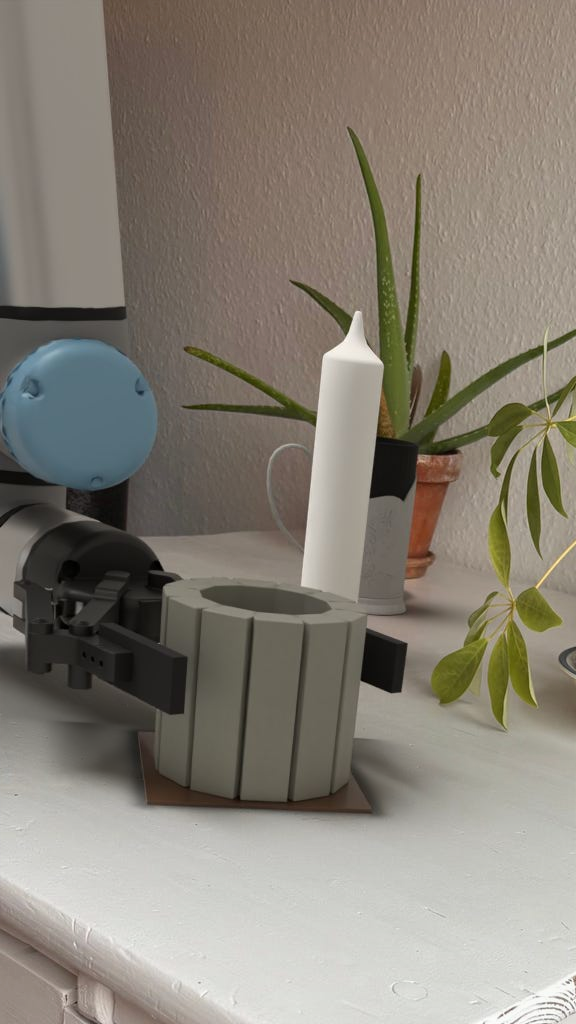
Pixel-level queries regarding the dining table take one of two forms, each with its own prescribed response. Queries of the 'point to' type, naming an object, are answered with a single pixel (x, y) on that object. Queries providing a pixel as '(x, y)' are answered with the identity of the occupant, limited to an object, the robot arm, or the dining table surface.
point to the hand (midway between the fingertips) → (298, 676)
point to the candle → (342, 465)
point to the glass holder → (379, 523)
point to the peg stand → (173, 794)
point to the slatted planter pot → (261, 688)
